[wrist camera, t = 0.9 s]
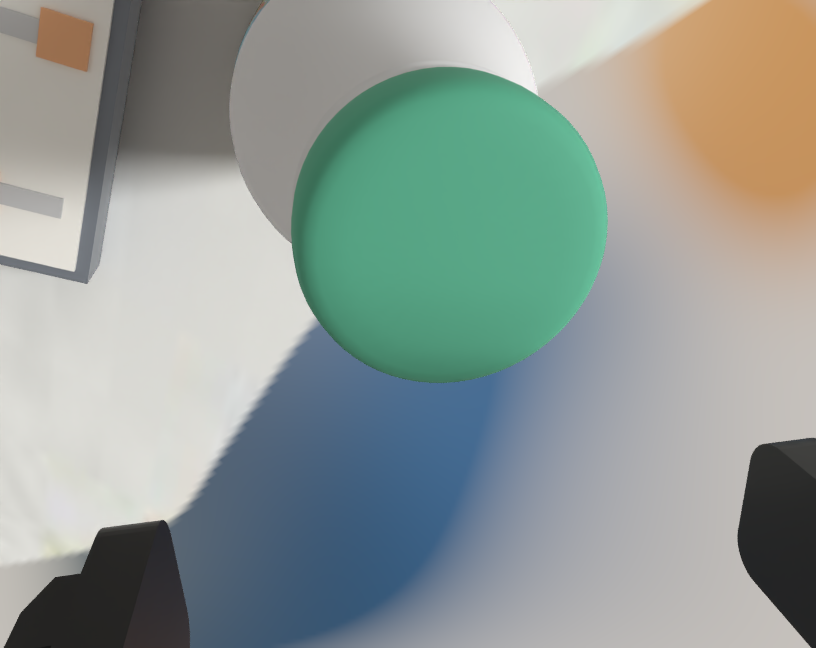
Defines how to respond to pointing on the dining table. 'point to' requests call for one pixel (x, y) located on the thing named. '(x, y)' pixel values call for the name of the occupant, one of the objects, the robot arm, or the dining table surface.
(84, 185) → the switch panel
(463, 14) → the milk bottle
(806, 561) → the robot arm
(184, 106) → the dining table surface
